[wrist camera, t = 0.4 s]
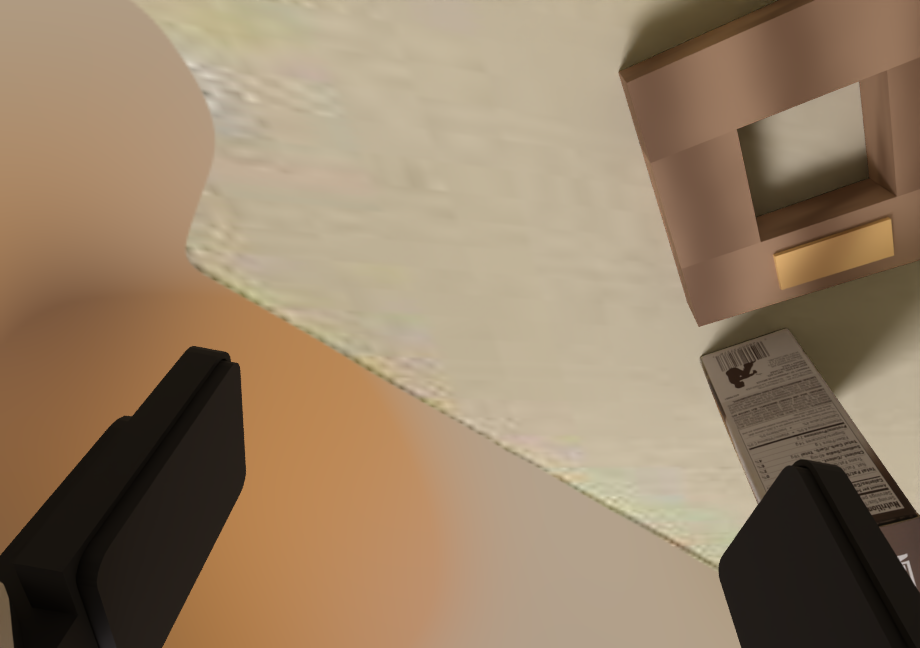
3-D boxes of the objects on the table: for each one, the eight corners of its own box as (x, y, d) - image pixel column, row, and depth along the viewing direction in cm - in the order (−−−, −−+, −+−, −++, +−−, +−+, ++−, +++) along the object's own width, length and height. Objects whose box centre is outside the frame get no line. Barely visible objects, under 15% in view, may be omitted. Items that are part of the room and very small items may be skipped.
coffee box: (817, 414, 44) (949, 623, 30) (729, 440, 46) (817, 645, 32) (790, 323, 40) (929, 517, 26) (695, 355, 42) (779, 551, 28)
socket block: (953, -78, 27) (1001, -81, 24) (959, 216, 35) (997, 239, 32) (618, 72, 32) (627, 84, 29) (687, 302, 39) (700, 329, 37)
